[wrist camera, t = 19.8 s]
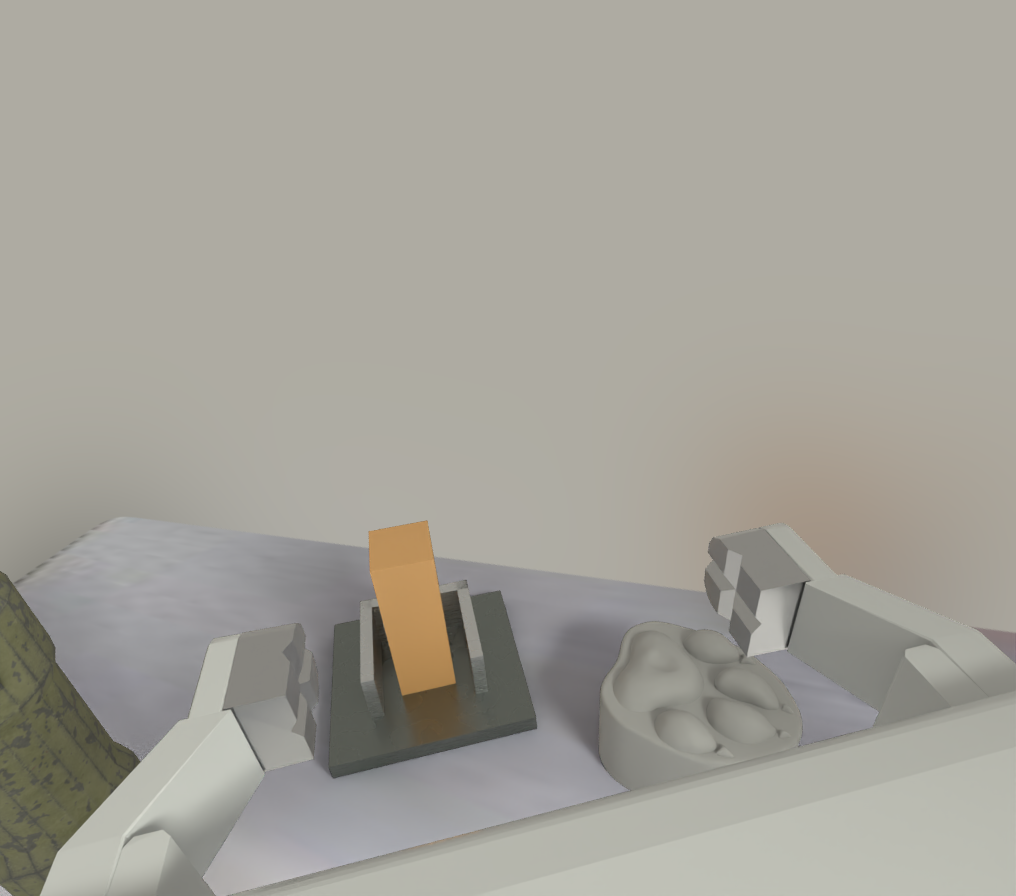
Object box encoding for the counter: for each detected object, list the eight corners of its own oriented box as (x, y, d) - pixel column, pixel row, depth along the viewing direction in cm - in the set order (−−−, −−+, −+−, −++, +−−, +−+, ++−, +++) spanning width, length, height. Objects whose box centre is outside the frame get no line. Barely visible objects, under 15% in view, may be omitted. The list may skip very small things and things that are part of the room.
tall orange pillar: (448, 641, 53) (427, 520, 46) (455, 683, 50) (433, 559, 42) (398, 652, 53) (368, 531, 45) (402, 695, 49) (369, 571, 42)
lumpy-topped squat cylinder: (631, 665, 52) (636, 595, 47) (793, 727, 46) (816, 653, 42) (586, 772, 44) (586, 700, 40) (772, 860, 39) (798, 789, 34)
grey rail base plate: (537, 728, 47) (533, 680, 44) (333, 778, 45) (314, 731, 42) (501, 601, 59) (496, 556, 56) (338, 635, 57) (323, 590, 54)
